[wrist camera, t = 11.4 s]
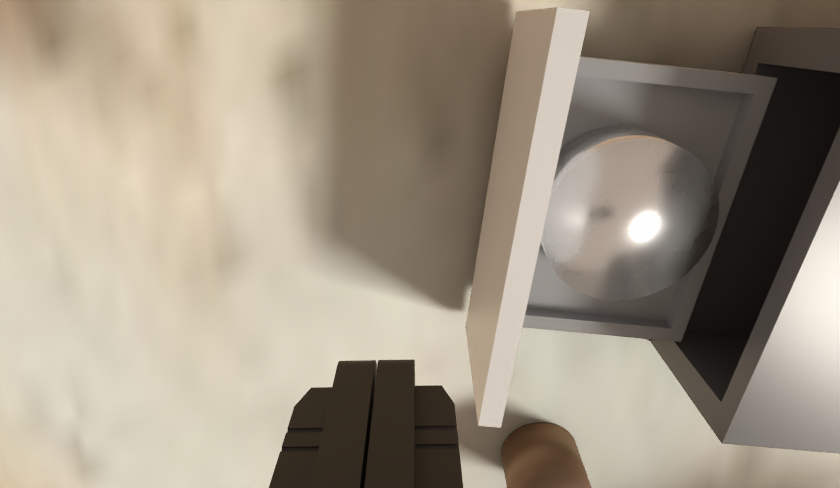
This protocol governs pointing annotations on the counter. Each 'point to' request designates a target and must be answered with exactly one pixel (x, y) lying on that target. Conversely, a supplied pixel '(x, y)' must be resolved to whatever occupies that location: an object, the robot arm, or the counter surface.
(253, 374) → the counter surface
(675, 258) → the disc
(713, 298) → the cylinder
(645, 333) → the drawer
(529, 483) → the brown rounded cylinder
